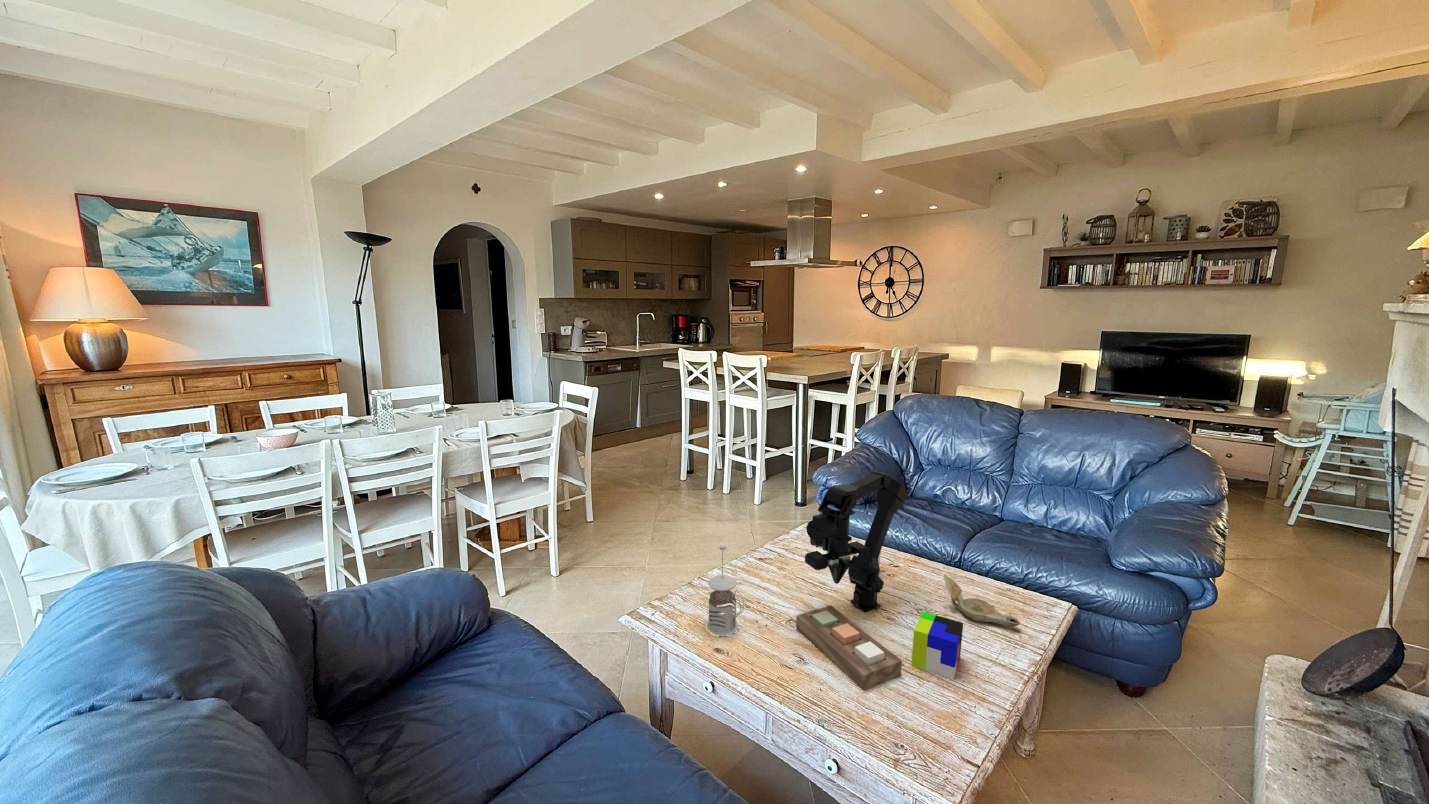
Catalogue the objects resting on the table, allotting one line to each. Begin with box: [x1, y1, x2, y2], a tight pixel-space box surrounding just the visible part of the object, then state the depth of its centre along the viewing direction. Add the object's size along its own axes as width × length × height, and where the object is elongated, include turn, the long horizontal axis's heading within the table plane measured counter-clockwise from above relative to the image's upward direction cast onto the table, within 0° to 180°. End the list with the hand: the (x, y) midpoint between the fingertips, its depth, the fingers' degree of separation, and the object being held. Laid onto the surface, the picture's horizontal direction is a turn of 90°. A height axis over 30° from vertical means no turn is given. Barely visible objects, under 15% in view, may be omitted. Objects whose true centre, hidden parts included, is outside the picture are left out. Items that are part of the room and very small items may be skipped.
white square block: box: [854, 641, 884, 666], centre depth 138 cm, size 5×5×3 cm
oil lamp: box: [943, 574, 1021, 628], centre depth 161 cm, size 9×21×10 cm, turn 47°
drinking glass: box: [860, 540, 882, 565], centre depth 188 cm, size 7×7×10 cm
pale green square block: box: [812, 610, 838, 628], centre depth 154 cm, size 5×5×3 cm
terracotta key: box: [832, 623, 860, 646], centre depth 146 cm, size 5×5×3 cm
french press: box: [706, 543, 745, 636], centre depth 155 cm, size 10×12×25 cm
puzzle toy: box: [911, 611, 964, 681], centre depth 141 cm, size 10×10×10 cm
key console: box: [795, 605, 903, 691], centre depth 147 cm, size 12×28×4 cm, turn 26°
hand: (836, 583), depth 158 cm, fingers closed
